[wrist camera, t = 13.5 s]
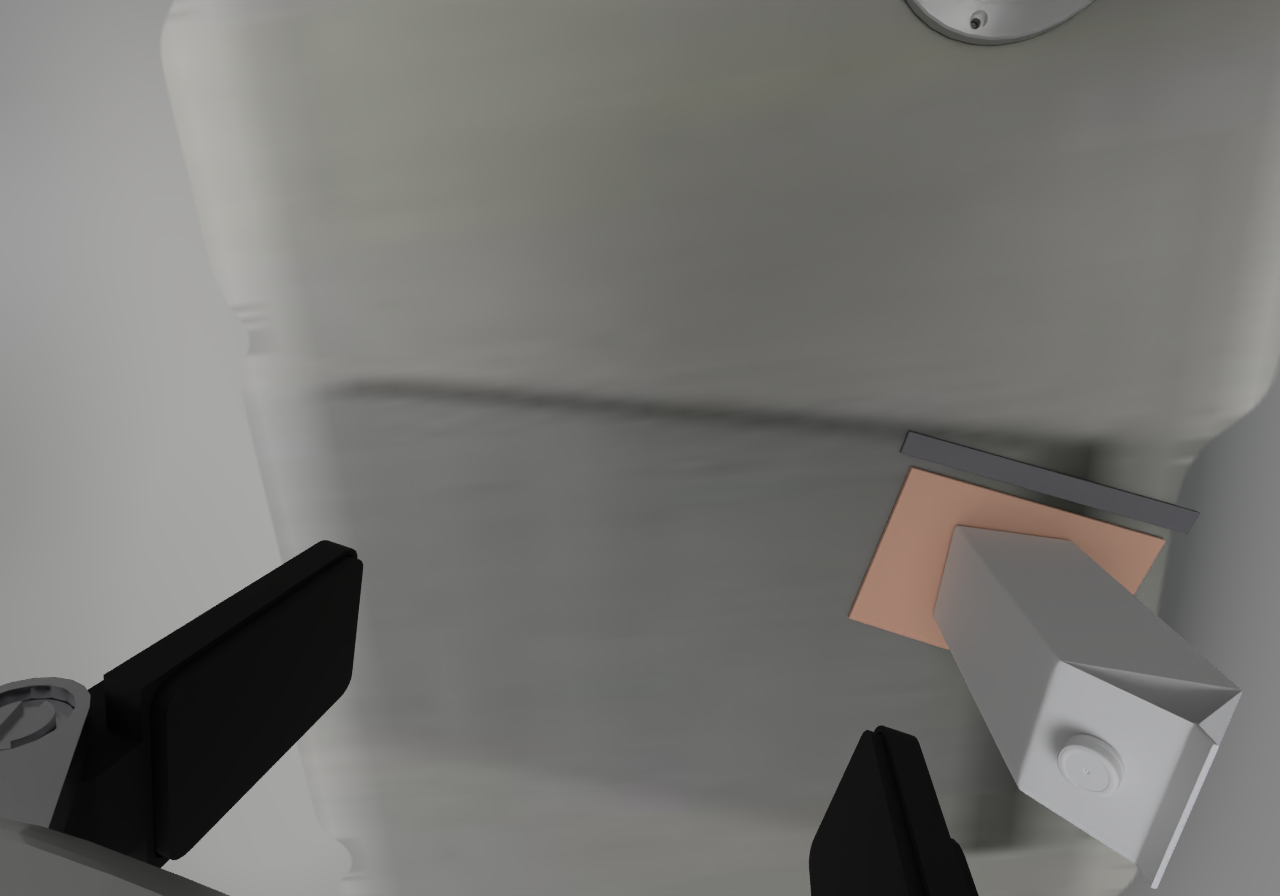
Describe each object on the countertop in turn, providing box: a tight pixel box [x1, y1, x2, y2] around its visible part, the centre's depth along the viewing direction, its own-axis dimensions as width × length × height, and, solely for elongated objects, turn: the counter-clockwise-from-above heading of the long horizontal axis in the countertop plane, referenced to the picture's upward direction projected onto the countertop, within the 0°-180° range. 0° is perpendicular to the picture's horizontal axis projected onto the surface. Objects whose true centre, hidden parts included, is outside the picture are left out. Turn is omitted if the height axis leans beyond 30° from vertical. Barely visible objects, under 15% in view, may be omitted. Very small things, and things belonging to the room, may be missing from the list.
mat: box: [848, 466, 1166, 650], centre depth 41 cm, size 12×16×1 cm
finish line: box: [900, 431, 1200, 534], centre depth 39 cm, size 2×18×1 cm, turn 76°
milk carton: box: [933, 526, 1242, 889], centre depth 32 cm, size 7×7×19 cm
